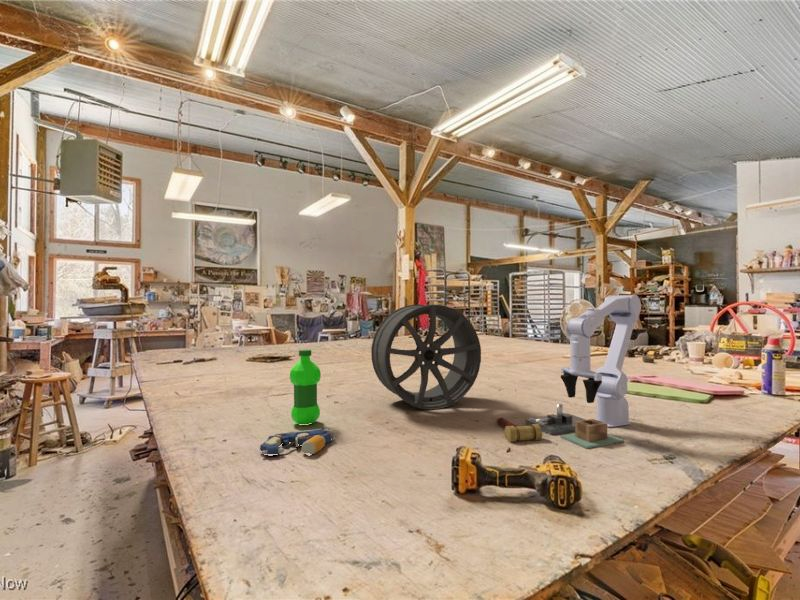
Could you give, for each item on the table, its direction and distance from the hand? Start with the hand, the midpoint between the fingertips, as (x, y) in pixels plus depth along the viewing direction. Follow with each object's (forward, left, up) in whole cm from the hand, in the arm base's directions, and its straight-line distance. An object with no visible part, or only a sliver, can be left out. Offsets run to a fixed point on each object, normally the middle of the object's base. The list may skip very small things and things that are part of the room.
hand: (580, 399), depth 127 cm
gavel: (+20, -9, -10) cm, 24 cm away
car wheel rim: (+30, -51, -10) cm, 60 cm away
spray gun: (+84, -19, -11) cm, 87 cm away
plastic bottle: (+79, -42, -10) cm, 90 cm away
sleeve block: (+3, +7, -9) cm, 12 cm away
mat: (+3, +7, -10) cm, 12 cm away
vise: (+2, -7, -10) cm, 12 cm away
